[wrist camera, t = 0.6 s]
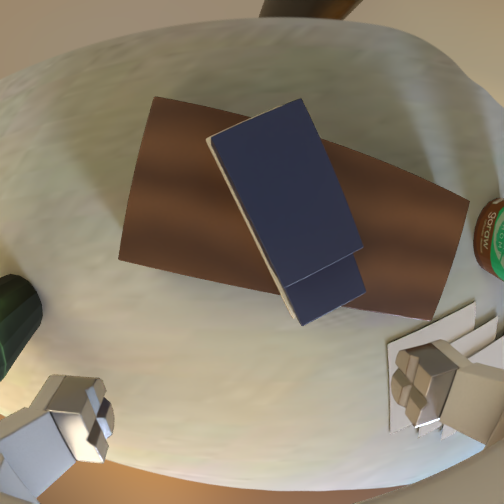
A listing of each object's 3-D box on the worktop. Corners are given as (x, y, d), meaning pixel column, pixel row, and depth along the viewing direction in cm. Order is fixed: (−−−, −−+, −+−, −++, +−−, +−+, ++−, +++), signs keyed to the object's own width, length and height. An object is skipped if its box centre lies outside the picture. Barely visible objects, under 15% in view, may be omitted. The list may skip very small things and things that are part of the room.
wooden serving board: (164, 109, 25) (154, 96, 20) (439, 195, 30) (470, 200, 25) (133, 244, 27) (117, 260, 22) (405, 302, 32) (431, 321, 27)
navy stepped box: (205, 140, 21) (203, 129, 15) (277, 108, 21) (299, 88, 15) (288, 311, 25) (309, 350, 19) (350, 278, 25) (386, 308, 19)
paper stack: (389, 464, 39) (390, 467, 39) (387, 344, 33) (390, 346, 32) (497, 400, 41) (499, 402, 40) (517, 276, 34) (520, 278, 33)
